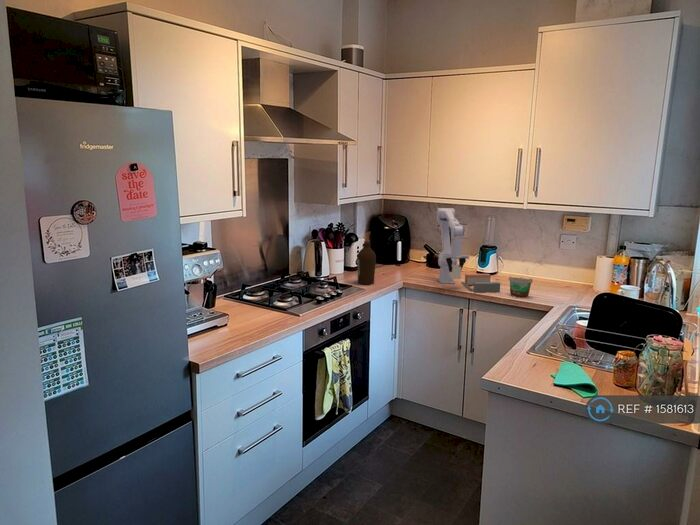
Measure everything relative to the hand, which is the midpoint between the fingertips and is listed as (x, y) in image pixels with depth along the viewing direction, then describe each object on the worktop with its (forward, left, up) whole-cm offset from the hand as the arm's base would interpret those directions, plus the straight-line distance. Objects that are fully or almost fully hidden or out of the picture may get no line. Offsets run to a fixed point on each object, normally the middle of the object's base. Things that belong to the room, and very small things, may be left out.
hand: (455, 271), depth 284 cm
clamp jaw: (-7, +16, -10) cm, 20 cm away
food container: (+17, +30, -10) cm, 36 cm away
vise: (-1, +16, -10) cm, 19 cm away
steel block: (0, 0, -4) cm, 4 cm away
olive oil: (-14, -48, -10) cm, 51 cm away
